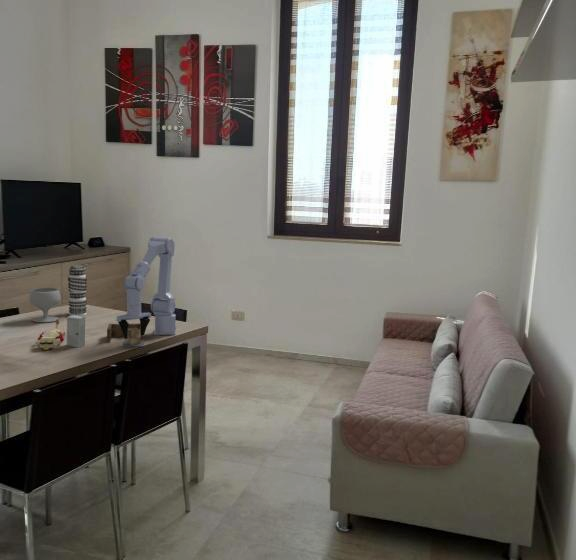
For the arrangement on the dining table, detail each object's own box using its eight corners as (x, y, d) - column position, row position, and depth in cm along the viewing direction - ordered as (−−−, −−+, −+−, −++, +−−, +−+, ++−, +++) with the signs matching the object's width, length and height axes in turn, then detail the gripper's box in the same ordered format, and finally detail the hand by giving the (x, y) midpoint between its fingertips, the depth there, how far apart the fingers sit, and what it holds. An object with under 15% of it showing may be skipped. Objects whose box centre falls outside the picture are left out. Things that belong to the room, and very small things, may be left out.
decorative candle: (64, 315, 278) (63, 266, 275) (74, 311, 287) (73, 264, 284) (81, 316, 277) (80, 267, 273) (90, 313, 286) (90, 265, 282)
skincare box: (66, 345, 226) (65, 316, 224) (73, 343, 230) (73, 314, 228) (78, 347, 224) (78, 318, 222) (86, 344, 228) (85, 316, 226)
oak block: (136, 341, 234) (136, 327, 233) (140, 343, 231) (140, 329, 231) (127, 342, 232) (127, 328, 231) (131, 345, 229) (131, 330, 228)
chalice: (43, 325, 257) (43, 293, 255) (23, 321, 263) (22, 290, 261) (67, 319, 270) (67, 289, 268) (47, 315, 276) (46, 286, 274)
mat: (144, 342, 236) (144, 340, 236) (143, 347, 229) (143, 345, 229) (124, 342, 234) (124, 341, 234) (123, 347, 227) (123, 346, 227)
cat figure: (46, 338, 240) (31, 350, 216) (46, 318, 240) (31, 327, 215) (70, 338, 242) (58, 349, 218) (70, 318, 242) (58, 327, 217)
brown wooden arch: (142, 335, 247) (142, 323, 246) (142, 341, 237) (142, 329, 236) (109, 335, 243) (109, 323, 243) (107, 342, 234) (107, 329, 233)
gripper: (145, 301, 237) (145, 331, 239) (113, 304, 227) (113, 336, 229) (153, 303, 231) (153, 335, 233) (120, 307, 222) (120, 340, 224)
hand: (134, 336), depth 231 cm, fingers open, 7 cm apart
